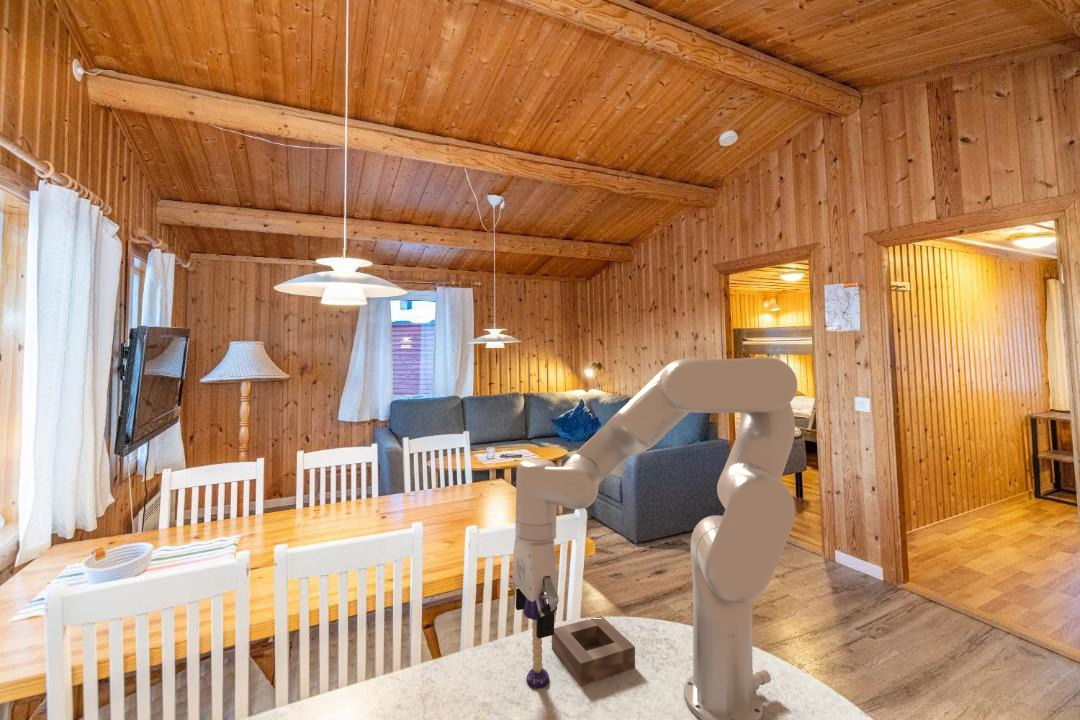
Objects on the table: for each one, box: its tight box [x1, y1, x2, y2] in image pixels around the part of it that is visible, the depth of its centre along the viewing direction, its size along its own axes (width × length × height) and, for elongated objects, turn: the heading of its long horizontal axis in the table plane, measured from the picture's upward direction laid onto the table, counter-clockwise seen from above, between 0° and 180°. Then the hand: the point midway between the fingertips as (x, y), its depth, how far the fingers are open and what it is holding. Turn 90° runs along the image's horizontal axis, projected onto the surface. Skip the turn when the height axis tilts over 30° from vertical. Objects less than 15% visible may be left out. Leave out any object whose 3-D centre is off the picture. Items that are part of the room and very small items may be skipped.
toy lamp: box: [523, 592, 550, 689], centre depth 85 cm, size 5×5×17 cm
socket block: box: [551, 615, 636, 686], centre depth 92 cm, size 12×12×4 cm
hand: (533, 621), depth 85 cm, fingers open, 9 cm apart
